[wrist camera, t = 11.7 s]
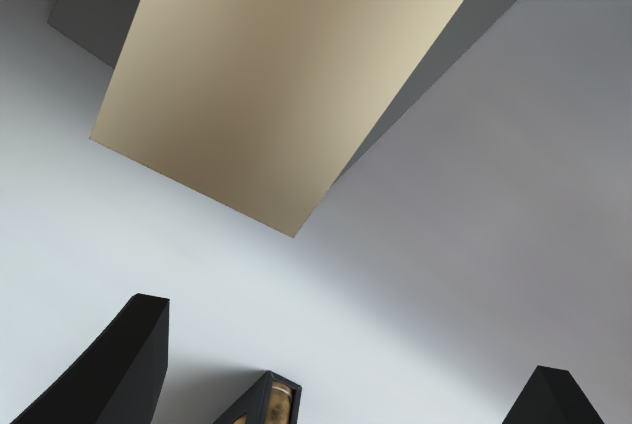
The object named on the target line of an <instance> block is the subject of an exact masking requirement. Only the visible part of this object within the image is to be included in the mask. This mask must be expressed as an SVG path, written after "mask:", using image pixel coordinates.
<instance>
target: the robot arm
mask: <svg viewBox="0 0 632 424" xmlns="http://www.w3.org/2000/svg"><path fill="white" fill-rule="evenodd" d="M169 301H170V299H167V298H161V297H156V296H150V295H145V294H139V293H137V294H136V295H134V296H132V297H131V298H130V300H129V301H128V302H127V303H126V305H125V306H124V307H123V308H122V310H121V311H120V312H119V313H118V314H117V316H116V317H115V318H114V319H113V320H112V321H111V323H110V324H109V325H108V326H107V327H106V328H105V329H104V331H103V332H102V333H101V334H100V335H99V336H98V337H97V338H96V339H95V340H94V342H93V343H92V344H91V345H90V346H89V347H88V348H87V349H86V350H85V351H84V352H83V353H82V354H81V355H80V356H79V357H78V358H77V359H76V361H75V362H74V363H73V364H72V365H71V366H70V367H69V368H68V369H67V370H66V371H65V372H64V373H63V374H62V375H61V376H60V377H59V378H58V379H57V380H56V381H55V382H54V383H53V384H52V385H51V386H50V387H49V388H48V389H47V390H46V391H45V392H43V393H42V394H41V395H40V396H39V397H38V398H37V399H36V400H35V401H34V402H33V403H32V404H31V405H29V406H28V407H27V408H26V409H25V410H24V411H23V412H22V413H21V414H20V415H19V416H18V417H17V418H16V419H14V420H13V421H12V422H11V423H10V424H150V423H151V420H152V418H153V415H154V412H155V408H156V405H157V402H158V398H159V395H160V392H161V388H162V385H163V381H164V378H165V375H166V371H167V368H168V336H169ZM502 424H604V422H603V421H602V419H601V418H600V416H599V415H598V413H597V412H596V410H595V409H594V408H593V406H592V405H591V403H590V402H589V400H588V399H587V397H586V396H585V394H584V393H583V391H582V390H581V388H580V387H579V385H578V384H577V383H576V381H575V380H574V378H573V377H572V375H571V374H570V373H569V371H566V370H561V369H555V368H550V367H544V366H539V365H538V366H537V367H536V369H535V371H534V372H533V374H532V375H531V377H530V379H529V380H528V382H527V384H526V385H525V387H524V388H523V390H522V392H521V393H520V395H519V397H518V398H517V400H516V401H515V403H514V405H513V406H512V408H511V410H510V411H509V413H508V414H507V416H506V418H505V419H504V421H503V423H502Z"/></svg>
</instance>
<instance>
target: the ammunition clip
mask: <svg viewBox="0 0 632 424" xmlns="http://www.w3.org/2000/svg"><path fill="white" fill-rule="evenodd" d="M301 392H302V387H300V386H298V385H296V384H294V383H292V382H290V381H288V380H286V379H284V378H282V377H280V376H278V375H276V374H274V373H272V372H270V371H267V372H266V373H265V374H264V375H263V376H262V377H261V378H260V379H259V380H258V381H257V382H256V383H255V384H254V385H252V386H251V387H250V388H249V389H248V390H247V391H246V392H245V393H244V394H243V395H242V396H241V397H240V398H239V399H238V400H237V401H236V402H235V403H234V404H233V405H232V406H230V407H229V408H228V409H227V410H226V411H225V412H224V413H223V414H222V415H221V416H220V417H219V418H218V419H217V420H216V421H215V422H214V423H213V424H297V419H298V412H299V405H300V398H301Z"/></svg>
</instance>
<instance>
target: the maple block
mask: <svg viewBox="0 0 632 424" xmlns="http://www.w3.org/2000/svg"><path fill="white" fill-rule="evenodd" d="M463 1H464V0H140V3H139V6H138V8H137V11H136V14H135V16H134V19H133V22H132V24H131V27H130V30H129V32H128V35H127V38H126V41H125V43H124V46H123V49H122V51H121V54H120V57H119V59H118V62H117V65H116V67H115V70H114V73H113V75H112V78H111V81H110V83H109V86H108V89H107V91H106V94H105V97H104V99H103V102H102V105H101V107H100V110H99V113H98V115H97V118H96V121H95V124H94V126H93V129H92V132H91V134H90V137H89V139H91V140H93V141H95V142H97V143H99V144H101V145H103V146H105V147H107V148H109V149H111V150H113V151H115V152H117V153H119V154H122V155H124V156H126V157H128V158H130V159H132V160H134V161H136V162H138V163H140V164H142V165H144V166H146V167H148V168H150V169H152V170H154V171H156V172H158V173H160V174H163V175H165V176H167V177H169V178H171V179H173V180H175V181H177V182H179V183H181V184H183V185H185V186H187V187H189V188H191V189H193V190H195V191H197V192H199V193H201V194H203V195H206V196H208V197H210V198H212V199H214V200H216V201H218V202H220V203H222V204H224V205H226V206H228V207H230V208H232V209H234V210H236V211H238V212H240V213H242V214H244V215H247V216H249V217H251V218H253V219H255V220H257V221H259V222H261V223H263V224H265V225H267V226H269V227H271V228H273V229H275V230H277V231H279V232H281V233H283V234H285V235H287V236H290V237H292V238H294V237H295V235H296V234H297V233H298V231H299V230H300V228H301V227H302V226H303V224H304V223H305V222H306V220H307V219H308V217H309V216H310V215H311V213H312V212H313V210H314V209H315V208H316V206H317V205H318V203H319V202H320V201H321V199H322V198H323V196H324V195H325V194H326V192H327V191H328V189H329V188H330V187H331V185H332V184H333V182H334V181H335V180H336V178H337V177H338V175H339V174H340V173H341V171H342V170H343V168H344V167H345V166H346V164H347V163H348V161H349V160H350V159H351V157H352V156H353V154H354V153H355V152H356V150H357V149H358V147H359V146H360V145H361V143H362V142H363V140H364V139H365V138H366V136H367V135H368V133H369V132H370V131H371V129H372V128H373V126H374V125H375V124H376V122H377V121H378V119H379V118H380V117H381V115H382V114H383V112H384V111H385V110H386V108H387V107H388V105H389V104H390V103H391V101H392V100H393V98H394V97H395V96H396V94H397V93H398V91H399V90H400V89H401V87H402V86H403V84H404V83H405V82H406V80H407V79H408V78H409V76H410V75H411V73H412V72H413V71H414V69H415V68H416V66H417V65H418V64H419V62H420V61H421V59H422V58H423V57H424V55H425V54H426V52H427V51H428V50H429V48H430V47H431V45H432V44H433V43H434V41H435V40H436V38H437V37H438V36H439V34H440V33H441V31H442V30H443V29H444V27H445V26H446V24H447V23H448V22H449V20H450V19H451V17H452V16H453V15H454V13H455V12H456V10H457V9H458V8H459V6H460V5H461V3H462V2H463Z"/></svg>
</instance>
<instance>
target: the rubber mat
mask: <svg viewBox="0 0 632 424" xmlns="http://www.w3.org/2000/svg"><path fill="white" fill-rule="evenodd" d="M516 1H517V0H464V1H463V2H462V3H461V5H460V6H459V8H458V9H457V10H456V12H455V13H454V15H453V16H452V17H451V19H450V20H449V22H448V23H447V24H446V26H445V27H444V29H443V30H442V31H441V33H440V34H439V36H438V37H437V38H436V40H435V41H434V43H433V44H432V45H431V47H430V48H429V50H428V51H427V52H426V54H425V55H424V57H423V58H422V59H421V61H420V62H419V64H418V65H417V66H416V68H415V69H414V71H413V72H412V73H411V75H410V76H409V78H408V79H407V80H406V82H405V83H404V84H403V86H402V87H401V89H400V90H399V91H398V93H397V94H396V96H395V97H394V98H393V100H392V101H391V103H390V104H389V105H388V107H387V108H386V110H385V111H384V112H383V114H382V115H381V117H380V118H379V119H378V121H377V122H376V124H375V125H374V126H373V128H372V129H371V131H370V132H369V133H368V135H367V136H366V138H365V139H364V140H363V142H362V143H361V145H360V146H359V147H358V149H357V150H356V152H355V153H354V154H353V156H352V157H351V159H350V160H349V161H348V163H347V164H346V166H345V167H344V168H343V170H342V171H341V173H340V174H339V175H338V177H337V178H336V180H335V181H334V182H333V184H334V183H335V182H336V181H337V180H338V179H339V178H340V177H341V176H342V175H343V174H344V173H345V172H346V171H347V170H348V169H349V168H350V167H351V166H352V165H353V164H354V163H355V162H356V161H357V160H358V159H359V158H360V157H361V156H362V155H363V154H364V153H365V152H366V151H367V150H368V149H369V148H370V147H371V146H372V145H373V144H374V143H375V142H376V141H377V140H378V139H379V138H380V137H381V136H382V135H383V134H384V133H385V132H386V131H387V130H388V129H389V128H390V127H391V126H392V125H393V124H394V123H395V122H396V121H397V120H398V119H399V118H400V117H401V116H402V115H403V114H404V113H405V112H406V111H407V110H408V109H409V108H410V107H411V106H412V105H413V104H414V103H415V102H416V101H417V100H418V99H419V98H420V97H421V96H422V95H423V94H424V93H425V92H426V91H427V90H428V89H429V88H430V87H431V86H432V85H433V84H434V83H435V82H436V81H437V80H438V79H439V78H440V77H441V76H442V75H443V74H444V73H445V72H446V71H447V70H448V69H449V68H450V67H451V66H452V65H453V64H454V63H455V62H456V61H457V60H458V59H459V58H460V57H461V56H462V55H463V54H464V53H465V52H466V51H467V50H468V49H469V48H470V47H471V46H472V45H473V44H474V43H475V42H476V41H477V40H478V39H479V38H480V37H481V36H482V35H483V34H484V33H485V32H486V31H487V30H488V29H489V28H490V27H491V26H492V25H493V24H494V23H495V22H496V21H497V20H498V19H499V18H500V17H501V16H502V15H503V14H504V13H505V12H506V11H507V10H508V9H509V8H510V7H511V6H512V5H513V4H514V3H515V2H516ZM139 3H140V0H58V1H57V3H56V5H55V7H54V9H53V11H52V13H51V15H50V17H49V19H48V21H47V23H48V24H49V25H51V26H52V27H54V28H55V29H57V30H58V31H60V32H61V33H62V34H64V35H65V36H67V37H68V38H70V39H71V40H73V41H74V42H76V43H77V44H79V45H80V46H81V47H83V48H84V49H86V50H87V51H89V52H90V53H92V54H93V55H95V56H96V57H98V58H99V59H100V60H102V61H103V62H105V63H106V64H108V65H109V66H111V67H112V68H114V69H115V67H116V65H117V62H118V59H119V57H120V54H121V51H122V49H123V46H124V43H125V41H126V38H127V35H128V32H129V30H130V27H131V24H132V22H133V19H134V16H135V14H136V11H137V8H138V6H139ZM333 184H332V185H333ZM332 185H331V186H332Z"/></svg>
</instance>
